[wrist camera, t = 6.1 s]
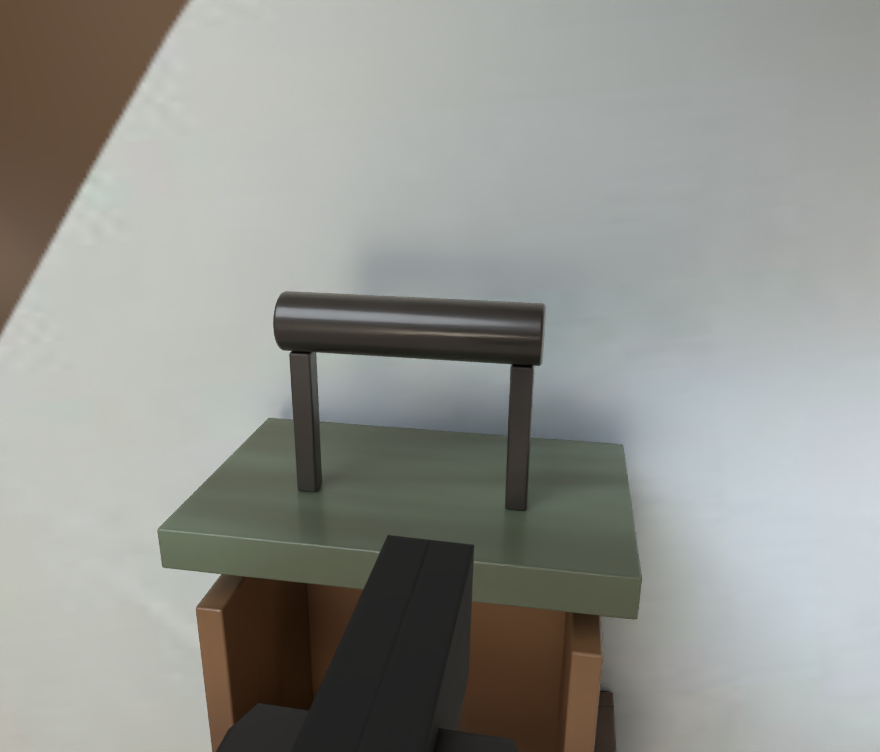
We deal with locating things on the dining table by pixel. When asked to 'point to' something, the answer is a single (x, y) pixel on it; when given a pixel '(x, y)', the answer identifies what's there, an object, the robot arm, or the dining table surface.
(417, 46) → the dining table surface
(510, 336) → the drawer
